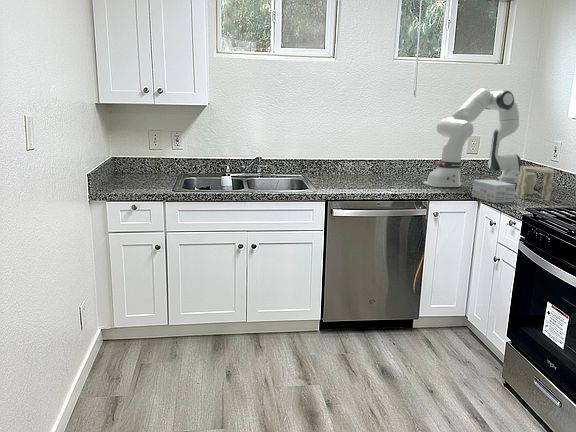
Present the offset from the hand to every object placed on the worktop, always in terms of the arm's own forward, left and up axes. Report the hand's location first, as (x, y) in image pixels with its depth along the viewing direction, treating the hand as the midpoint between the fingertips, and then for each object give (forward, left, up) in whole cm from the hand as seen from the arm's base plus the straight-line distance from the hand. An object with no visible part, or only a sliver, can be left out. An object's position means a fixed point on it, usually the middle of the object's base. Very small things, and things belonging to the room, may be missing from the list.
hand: (521, 181), depth 295 cm
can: (-4, -8, -5) cm, 10 cm away
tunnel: (-8, -14, -5) cm, 17 cm away
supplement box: (-36, -17, -5) cm, 40 cm away
